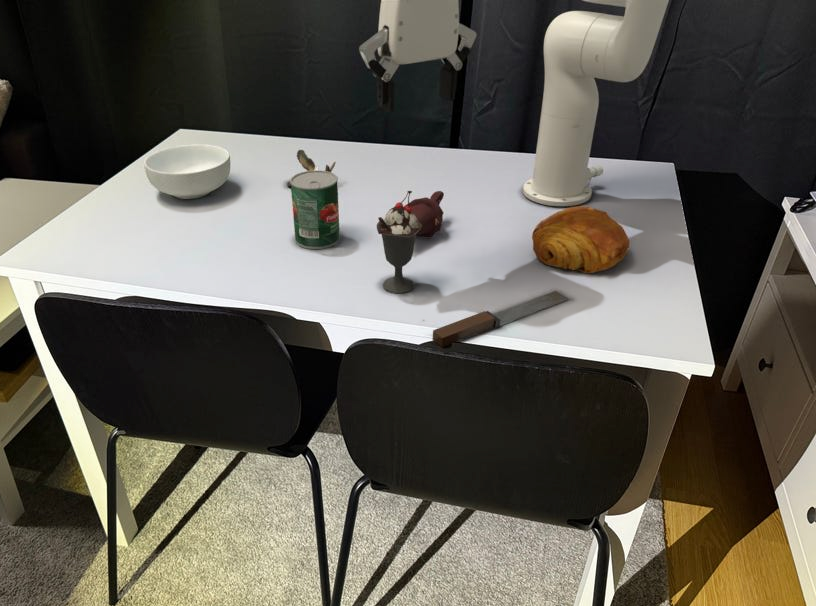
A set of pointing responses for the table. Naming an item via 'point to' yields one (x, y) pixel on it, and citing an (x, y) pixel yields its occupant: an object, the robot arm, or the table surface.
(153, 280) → the table surface
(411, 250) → the sundae
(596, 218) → the croissant
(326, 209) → the canned tomato
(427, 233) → the icecream
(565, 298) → the knife
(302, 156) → the eagle figurine
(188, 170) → the cereal bowl
